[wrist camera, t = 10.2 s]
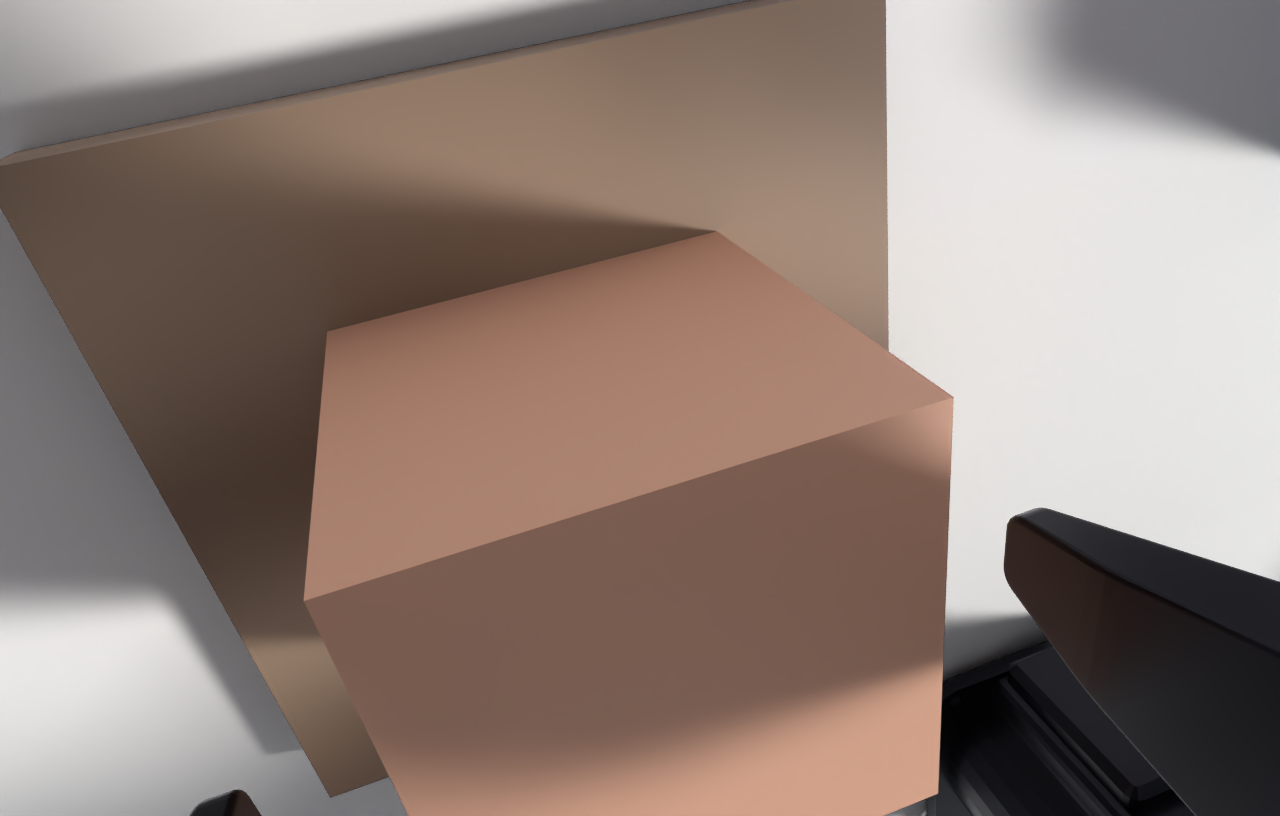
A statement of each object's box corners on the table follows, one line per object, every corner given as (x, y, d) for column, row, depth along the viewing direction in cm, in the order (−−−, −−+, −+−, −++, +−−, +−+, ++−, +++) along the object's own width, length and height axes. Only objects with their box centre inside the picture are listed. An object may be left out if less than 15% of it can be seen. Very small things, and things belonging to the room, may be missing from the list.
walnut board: (861, 563, 19) (890, 596, 18) (332, 748, 17) (330, 797, 16) (843, -20, 13) (885, -20, 12) (15, 151, 11) (-20, 169, 10)
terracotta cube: (751, 530, 16) (938, 793, 11) (442, 633, 15) (487, 979, 10) (717, 231, 13) (953, 397, 8) (327, 331, 12) (303, 600, 7)
